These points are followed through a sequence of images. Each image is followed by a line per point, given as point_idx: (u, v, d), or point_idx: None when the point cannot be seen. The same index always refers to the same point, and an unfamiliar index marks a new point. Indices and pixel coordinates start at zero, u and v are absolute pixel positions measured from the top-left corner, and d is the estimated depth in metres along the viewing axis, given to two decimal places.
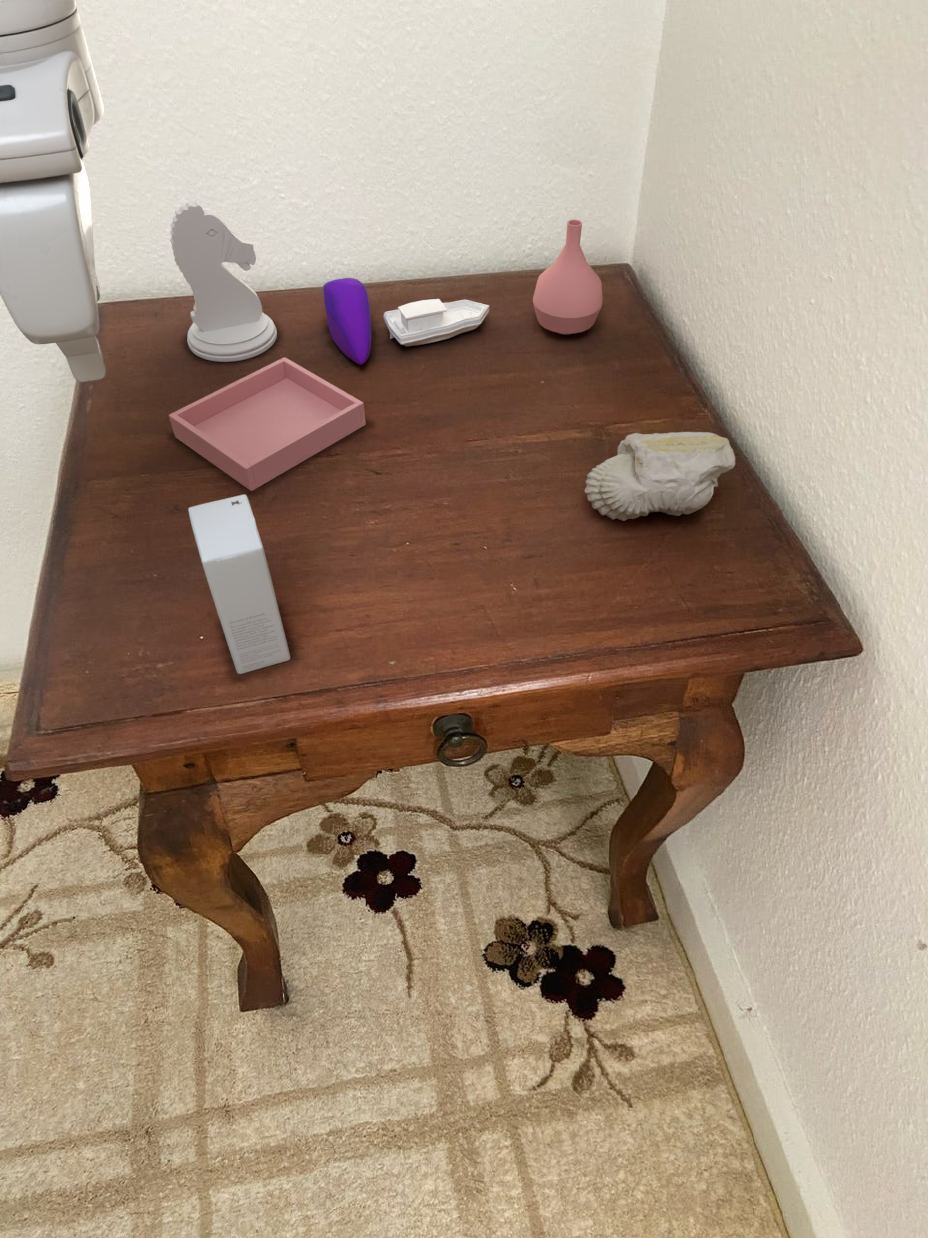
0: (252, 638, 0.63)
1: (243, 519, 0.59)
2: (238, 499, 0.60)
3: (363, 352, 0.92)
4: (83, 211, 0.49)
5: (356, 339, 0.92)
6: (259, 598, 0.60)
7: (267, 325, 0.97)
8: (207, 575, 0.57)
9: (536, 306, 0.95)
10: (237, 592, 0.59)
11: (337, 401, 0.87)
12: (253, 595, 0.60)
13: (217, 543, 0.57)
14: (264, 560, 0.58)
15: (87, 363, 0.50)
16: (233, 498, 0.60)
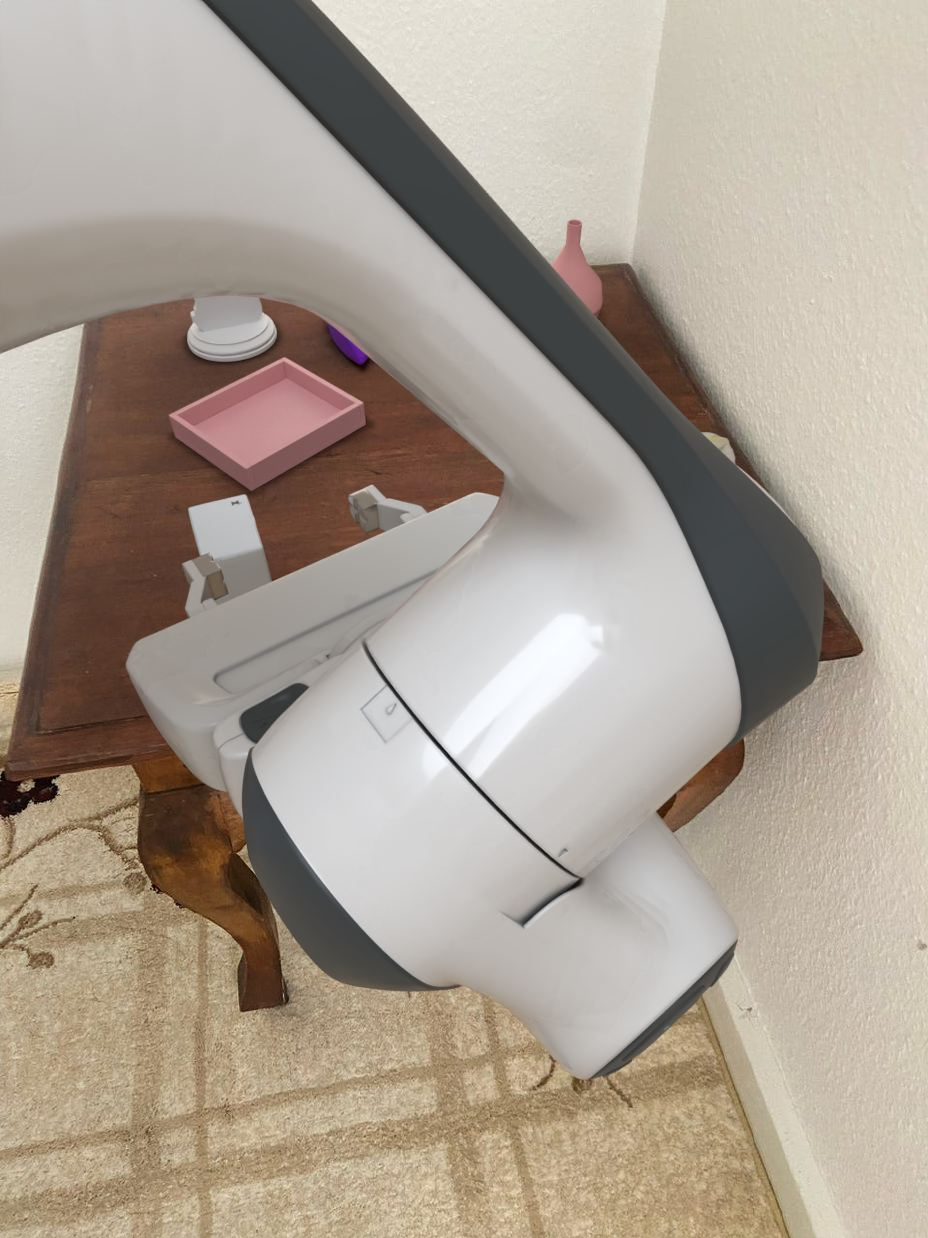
0: None
1: (243, 519, 0.59)
2: (238, 499, 0.60)
3: (363, 352, 0.92)
4: None
5: None
6: None
7: (267, 325, 0.97)
8: None
9: None
10: (237, 592, 0.59)
11: (337, 401, 0.87)
12: None
13: (217, 543, 0.57)
14: (264, 560, 0.58)
15: None
16: (233, 498, 0.60)
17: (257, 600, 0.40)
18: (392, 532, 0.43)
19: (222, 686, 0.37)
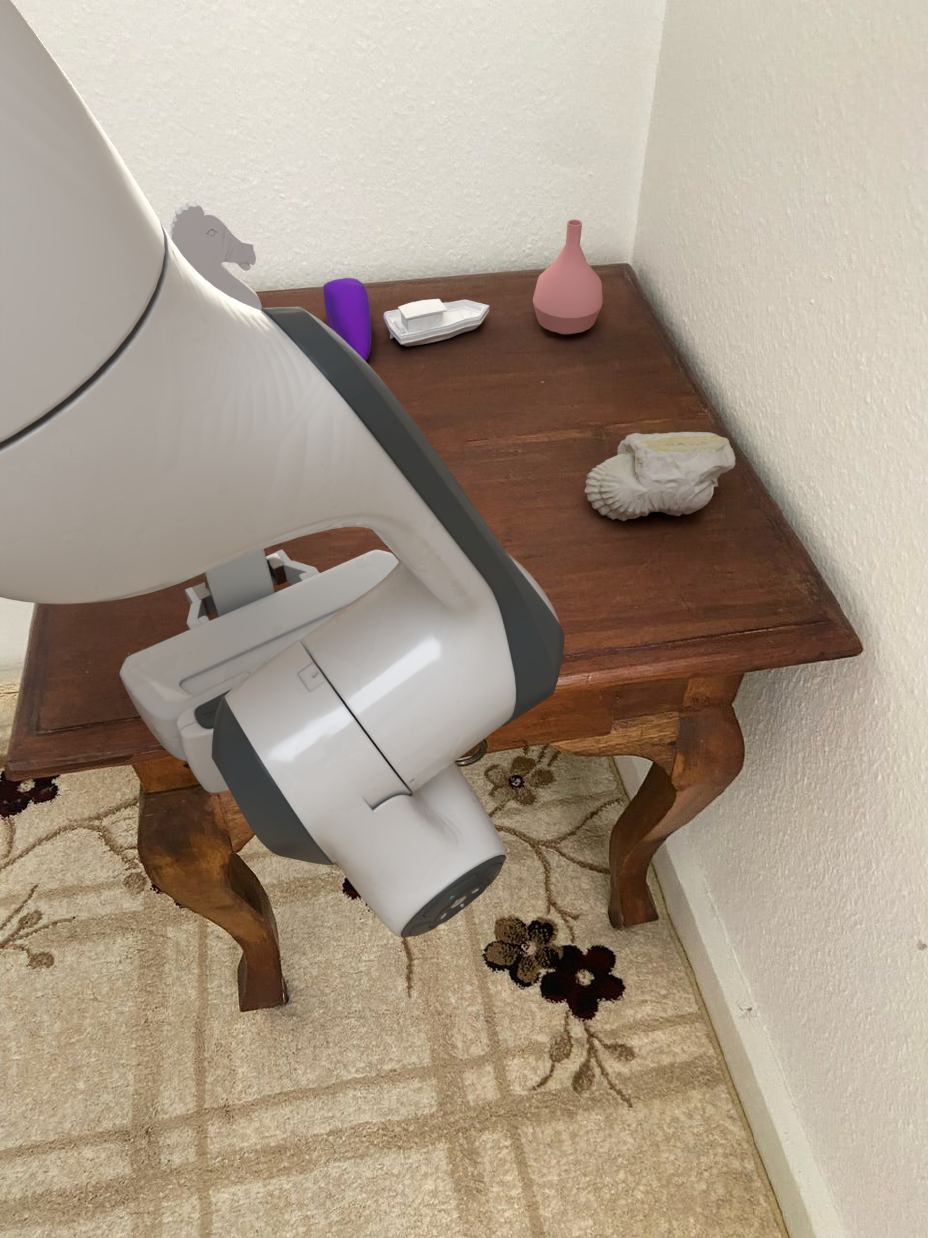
0: None
1: None
2: None
3: (363, 352, 0.92)
4: None
5: (356, 339, 0.92)
6: (259, 598, 0.60)
7: None
8: (207, 575, 0.57)
9: (536, 306, 0.95)
10: (237, 592, 0.59)
11: None
12: (253, 595, 0.60)
13: None
14: (264, 560, 0.58)
15: None
16: None
17: (212, 628, 0.57)
18: (311, 579, 0.60)
19: (185, 689, 0.54)
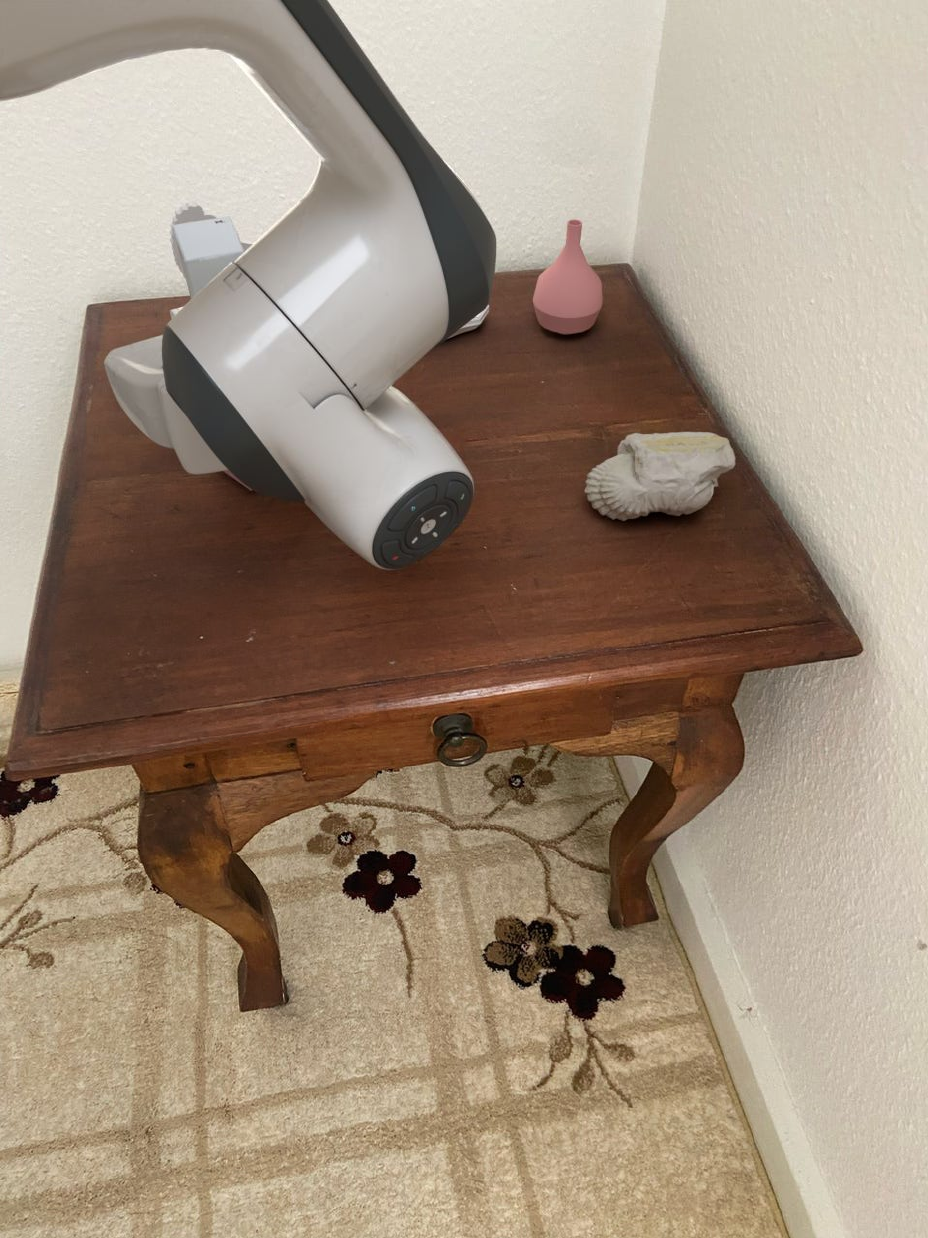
0: None
1: (226, 232, 0.61)
2: (222, 219, 0.62)
3: None
4: None
5: None
6: None
7: None
8: (190, 277, 0.59)
9: (536, 306, 0.95)
10: None
11: None
12: None
13: (200, 247, 0.59)
14: None
15: None
16: (217, 218, 0.62)
17: None
18: None
19: None
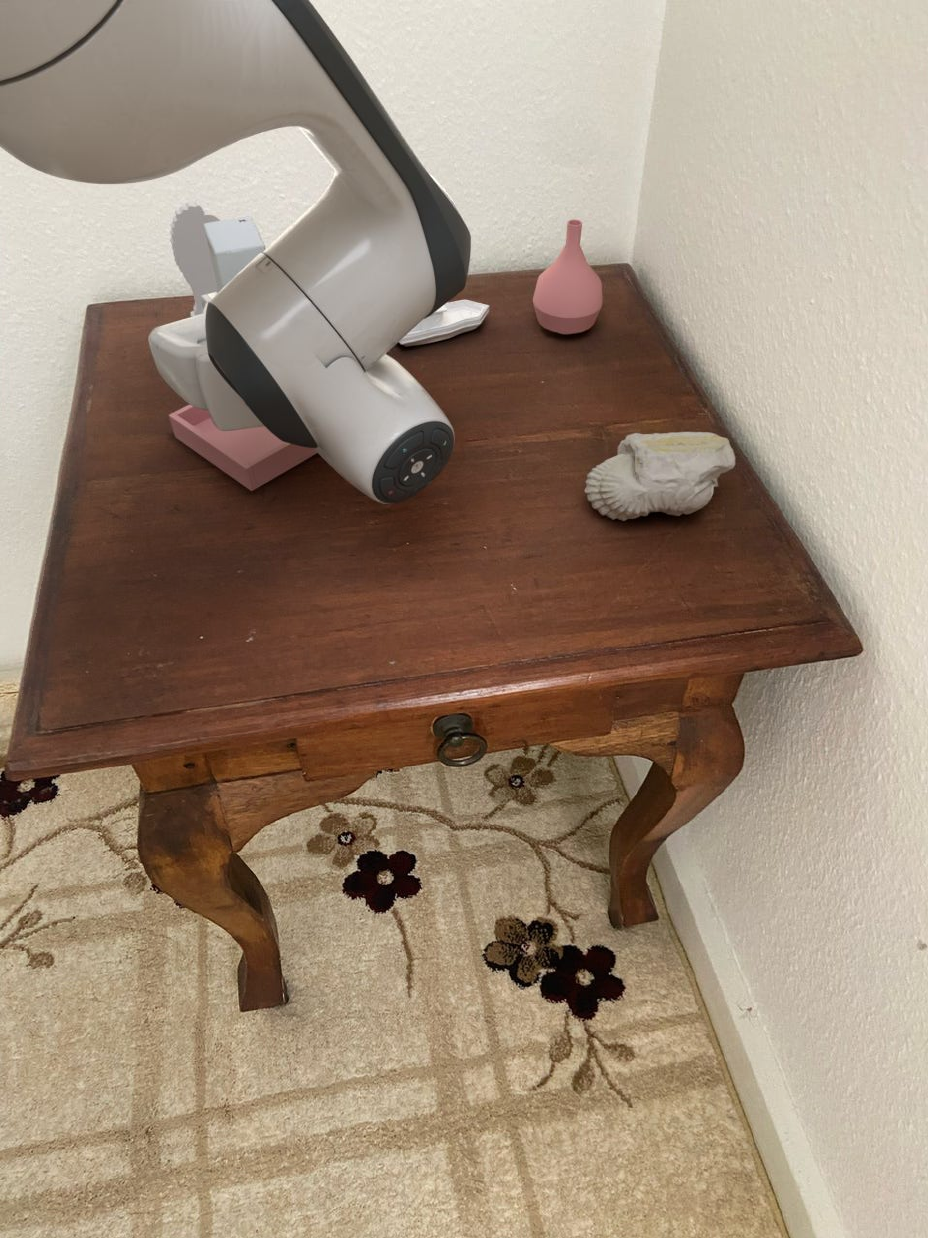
0: None
1: (249, 229, 0.72)
2: (245, 218, 0.73)
3: None
4: None
5: None
6: None
7: None
8: (219, 267, 0.70)
9: (536, 306, 0.95)
10: None
11: None
12: None
13: (228, 242, 0.70)
14: None
15: None
16: (240, 218, 0.73)
17: None
18: None
19: (201, 345, 0.67)
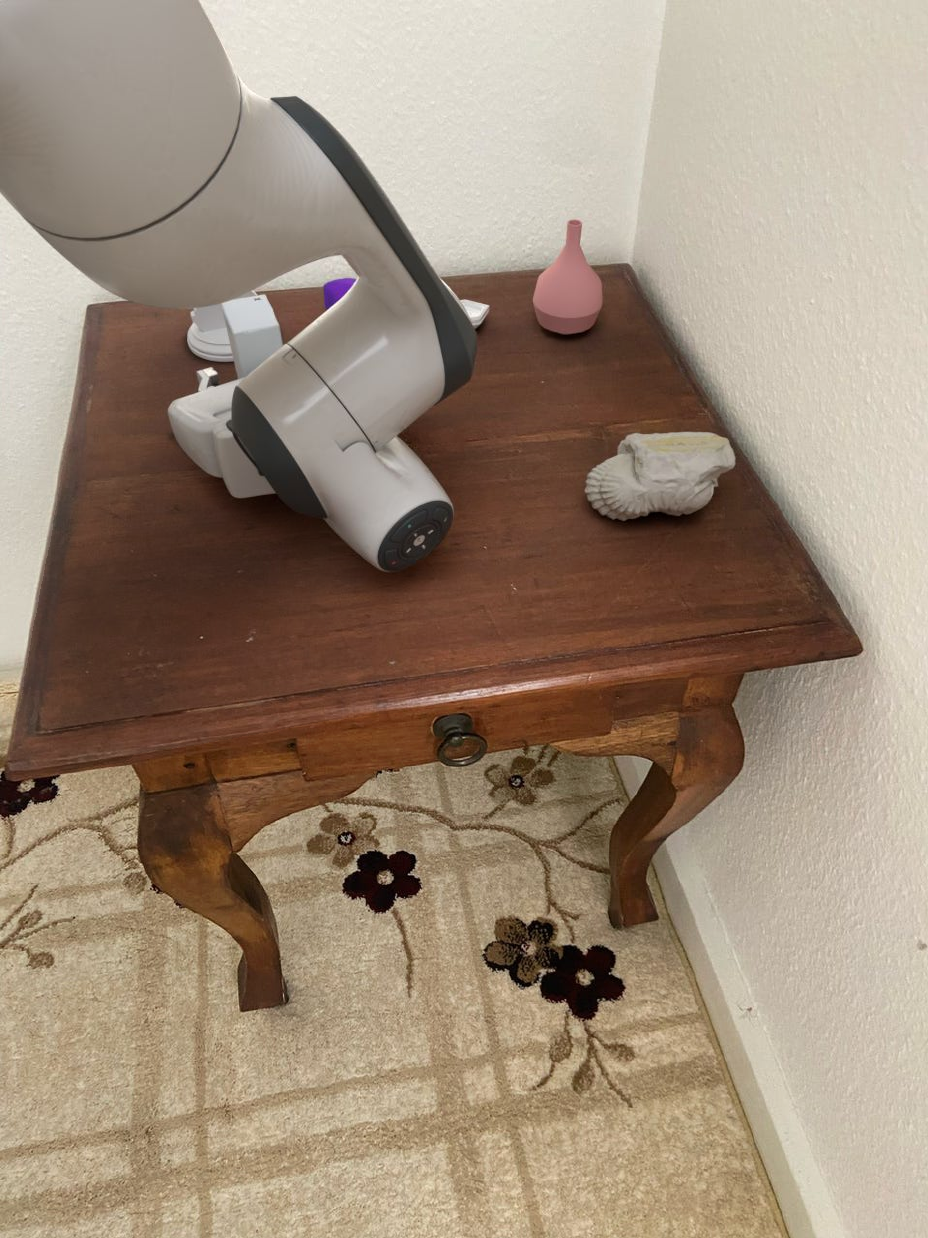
0: None
1: (264, 308, 0.77)
2: (259, 297, 0.79)
3: None
4: None
5: None
6: None
7: None
8: (237, 346, 0.75)
9: (536, 306, 0.95)
10: (259, 364, 0.77)
11: None
12: None
13: (244, 322, 0.75)
14: (280, 337, 0.76)
15: None
16: (255, 296, 0.79)
17: (237, 384, 0.75)
18: None
19: (217, 419, 0.72)
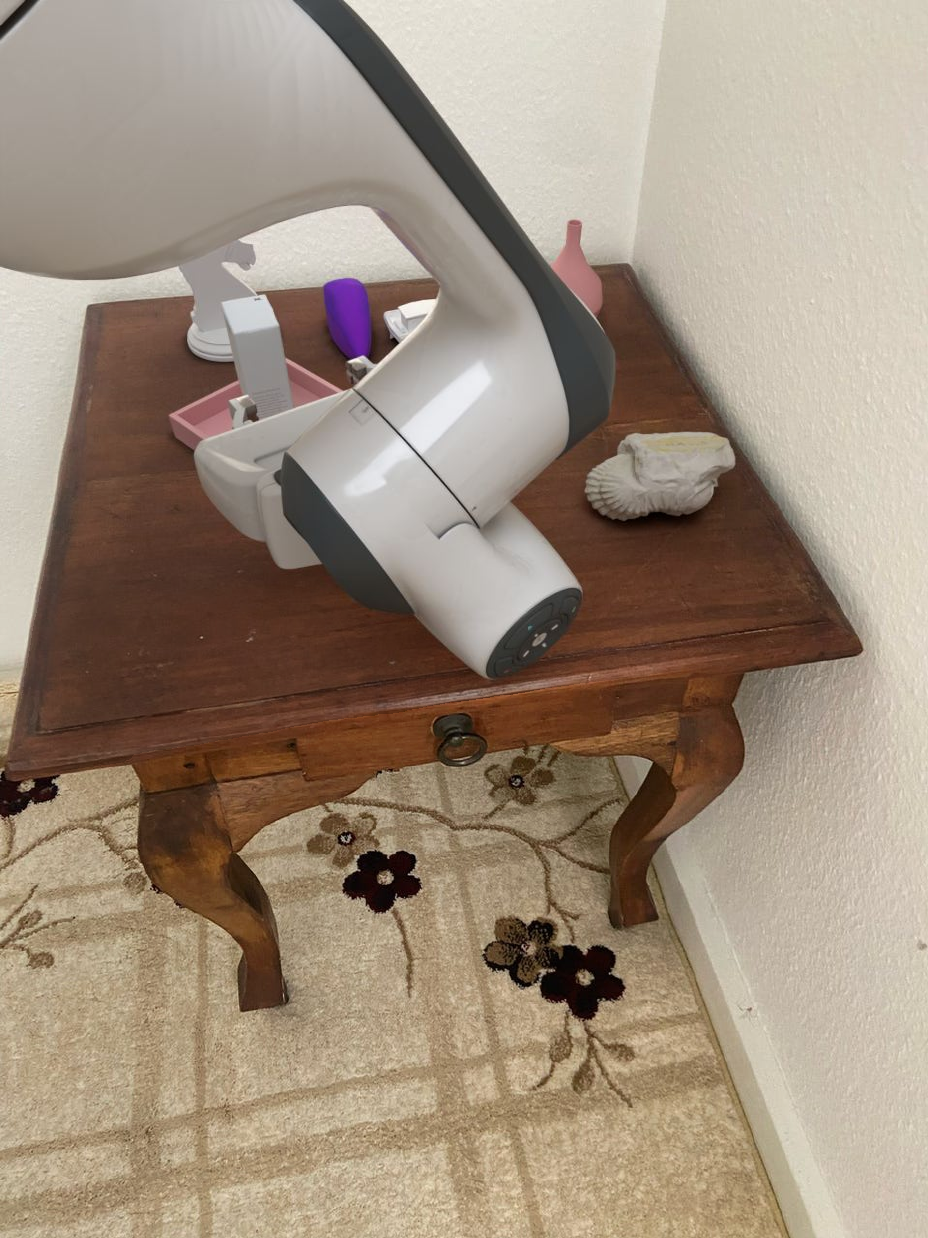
0: (269, 410, 0.81)
1: (264, 308, 0.77)
2: (259, 297, 0.79)
3: (363, 352, 0.92)
4: None
5: (356, 339, 0.92)
6: (275, 372, 0.78)
7: None
8: (237, 346, 0.75)
9: None
10: (259, 364, 0.77)
11: None
12: (271, 369, 0.78)
13: (245, 322, 0.75)
14: (280, 337, 0.76)
15: None
16: (255, 296, 0.79)
17: (282, 418, 0.58)
18: None
19: (260, 466, 0.55)
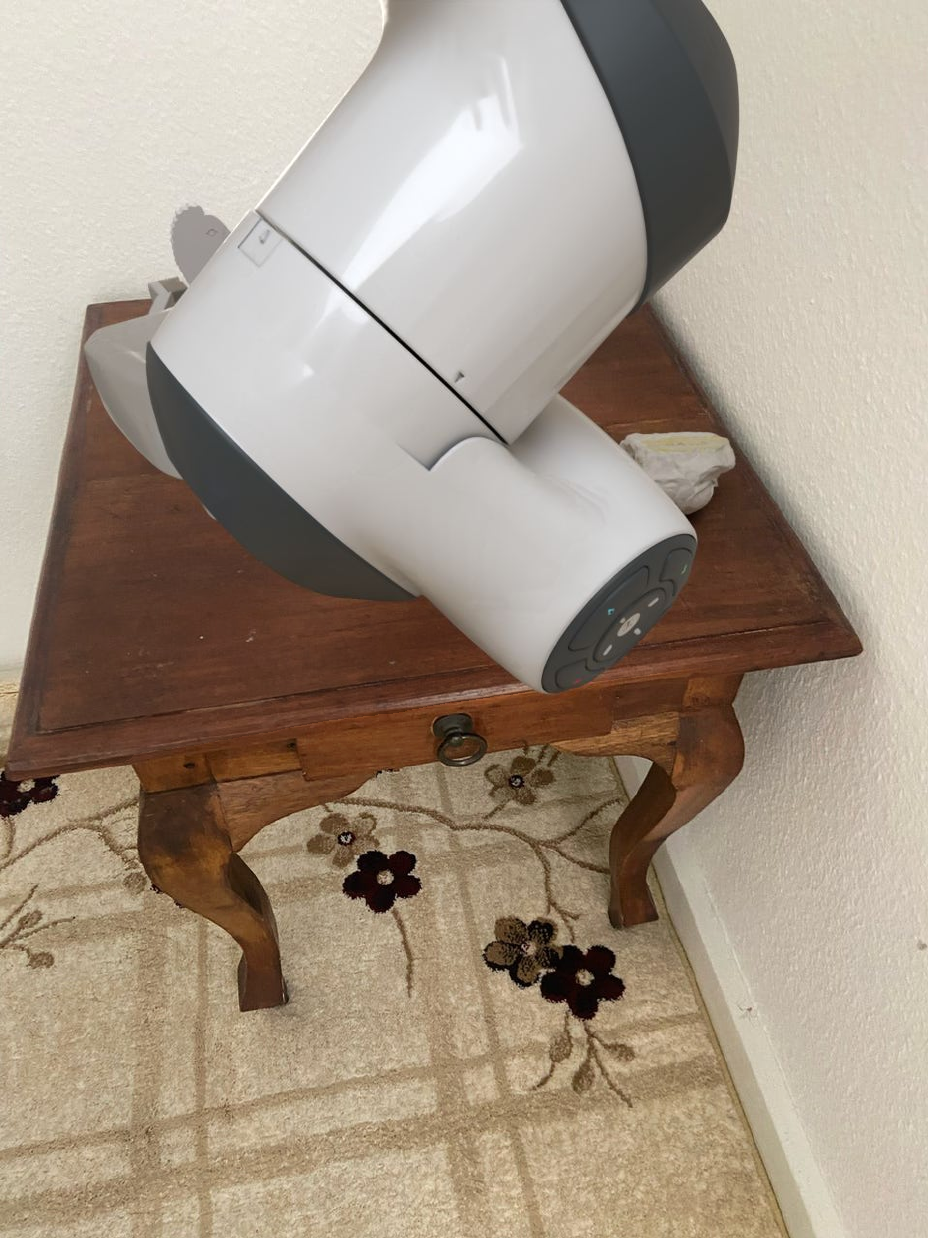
0: None
1: None
2: None
3: None
4: None
5: None
6: None
7: None
8: None
9: None
10: None
11: None
12: None
13: None
14: None
15: None
16: None
17: None
18: None
19: None
